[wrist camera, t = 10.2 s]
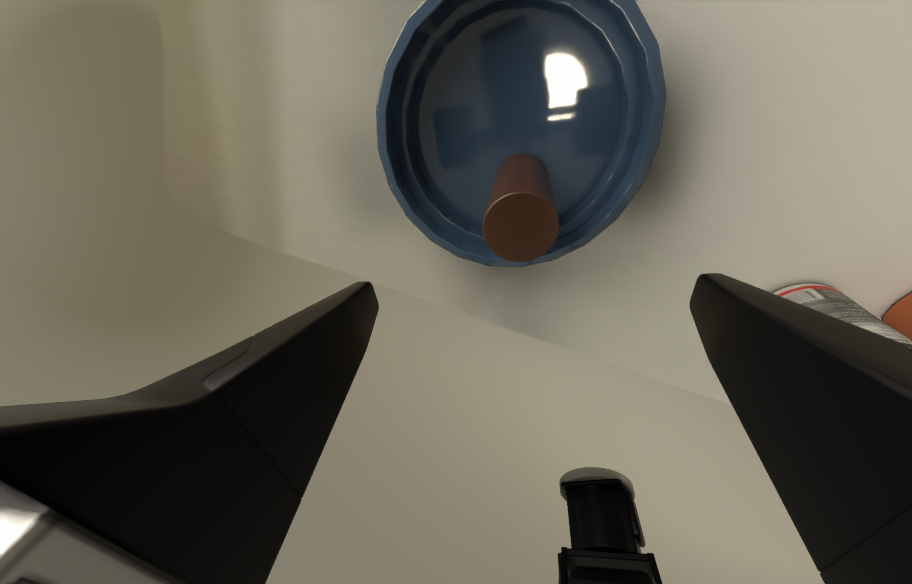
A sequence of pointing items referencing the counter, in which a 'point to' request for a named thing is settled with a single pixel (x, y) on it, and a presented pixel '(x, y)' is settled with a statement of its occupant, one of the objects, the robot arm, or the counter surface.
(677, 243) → the counter surface
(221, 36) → the counter surface
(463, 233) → the bowl
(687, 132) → the counter surface
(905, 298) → the orange cylinder cap
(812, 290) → the pill bottle
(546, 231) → the brown cylinder
